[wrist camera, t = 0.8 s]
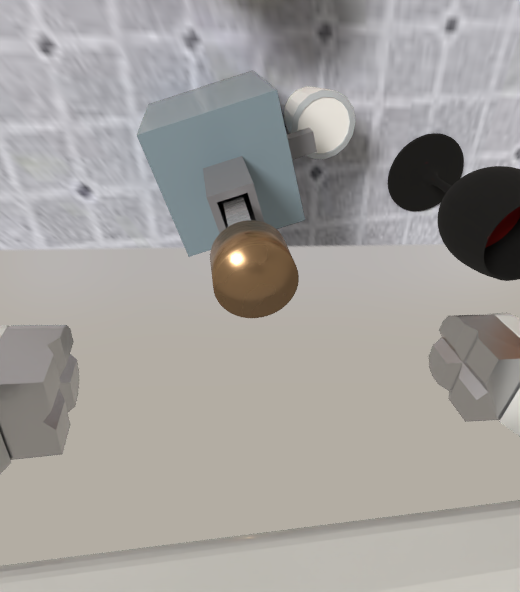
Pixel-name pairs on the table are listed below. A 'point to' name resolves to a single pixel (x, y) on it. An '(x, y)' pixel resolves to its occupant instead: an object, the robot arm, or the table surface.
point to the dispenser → (224, 157)
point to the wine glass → (462, 203)
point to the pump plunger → (251, 265)
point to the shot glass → (321, 118)
